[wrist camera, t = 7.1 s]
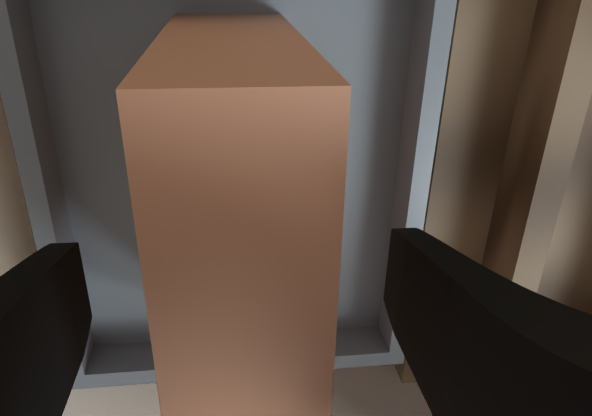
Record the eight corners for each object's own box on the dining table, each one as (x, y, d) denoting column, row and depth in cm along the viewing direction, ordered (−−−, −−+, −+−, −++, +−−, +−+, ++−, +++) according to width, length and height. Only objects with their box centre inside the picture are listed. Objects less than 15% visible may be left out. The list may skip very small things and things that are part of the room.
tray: (388, 329, 21) (403, 363, 19) (82, 350, 20) (69, 389, 18) (436, -54, 15) (465, -55, 13) (-3, -66, 13) (-38, -69, 12)
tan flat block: (280, 299, 19) (323, 547, 11) (199, 305, 19) (182, 565, 11) (280, 14, 15) (351, 85, 7) (174, 13, 14) (115, 89, 6)
